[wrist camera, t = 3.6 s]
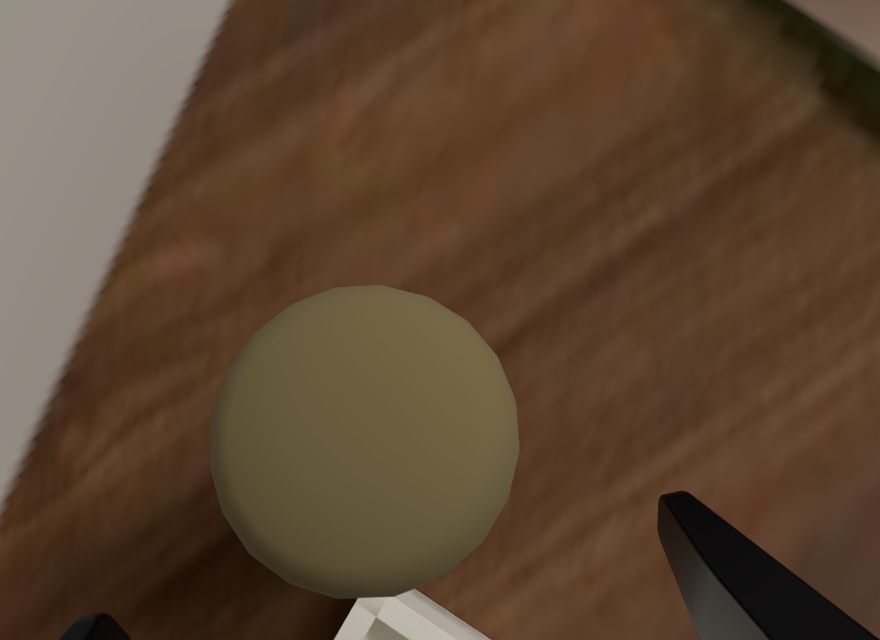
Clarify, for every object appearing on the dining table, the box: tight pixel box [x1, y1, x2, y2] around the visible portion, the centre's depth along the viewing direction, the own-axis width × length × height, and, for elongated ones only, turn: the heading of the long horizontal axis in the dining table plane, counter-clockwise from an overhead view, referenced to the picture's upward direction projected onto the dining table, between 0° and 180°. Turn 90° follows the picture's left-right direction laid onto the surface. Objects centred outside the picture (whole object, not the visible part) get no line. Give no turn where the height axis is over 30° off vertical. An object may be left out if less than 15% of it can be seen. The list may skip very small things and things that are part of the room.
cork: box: [209, 285, 520, 599], centre depth 13 cm, size 6×6×11 cm
